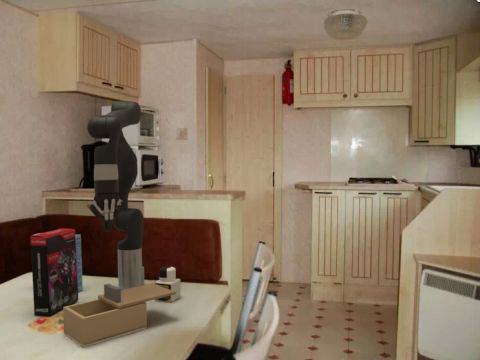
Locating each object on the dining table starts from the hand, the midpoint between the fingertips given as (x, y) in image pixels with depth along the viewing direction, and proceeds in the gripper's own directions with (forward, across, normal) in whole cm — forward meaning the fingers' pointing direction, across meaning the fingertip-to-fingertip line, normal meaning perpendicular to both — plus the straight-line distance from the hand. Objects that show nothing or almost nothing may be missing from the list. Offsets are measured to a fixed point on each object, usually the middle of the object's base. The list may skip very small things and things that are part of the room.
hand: (107, 231), depth 142 cm
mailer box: (+29, +6, +10) cm, 31 cm away
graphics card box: (+29, +9, -22) cm, 38 cm away
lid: (+20, -4, +10) cm, 23 cm away
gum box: (+29, 0, -44) cm, 53 cm away
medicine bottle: (+29, -25, -3) cm, 38 cm away
